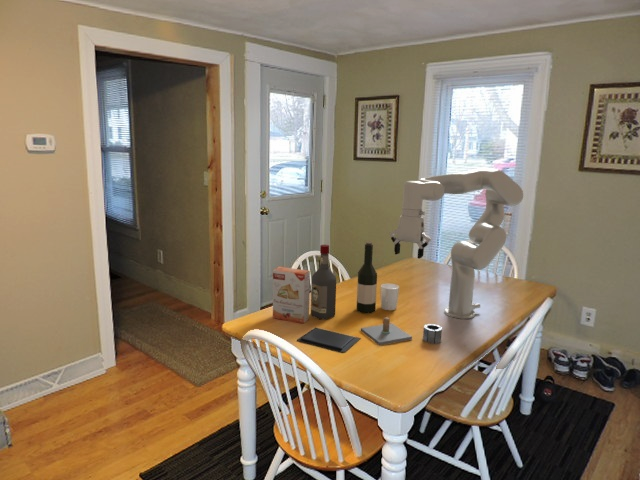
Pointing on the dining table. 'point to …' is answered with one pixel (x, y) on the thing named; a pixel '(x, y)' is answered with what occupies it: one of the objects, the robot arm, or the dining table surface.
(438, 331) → the collar
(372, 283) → the wine bottle
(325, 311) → the liquor
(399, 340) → the post base
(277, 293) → the cracker box
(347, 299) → the dining table surface
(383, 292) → the white cup
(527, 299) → the dining table surface
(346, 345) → the wallet
